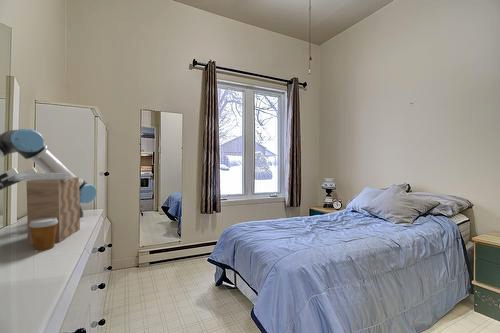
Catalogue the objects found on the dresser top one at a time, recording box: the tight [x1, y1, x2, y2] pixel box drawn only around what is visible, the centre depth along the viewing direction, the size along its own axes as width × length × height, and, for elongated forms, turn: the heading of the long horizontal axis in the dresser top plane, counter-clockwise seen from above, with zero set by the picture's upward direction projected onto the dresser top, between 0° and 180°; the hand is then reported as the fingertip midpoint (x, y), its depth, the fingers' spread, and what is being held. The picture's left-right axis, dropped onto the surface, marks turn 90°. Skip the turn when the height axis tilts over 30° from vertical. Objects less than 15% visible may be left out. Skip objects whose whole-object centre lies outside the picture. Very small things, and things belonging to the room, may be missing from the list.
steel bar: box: [8, 172, 69, 182], centre depth 113 cm, size 4×22×3 cm, turn 105°
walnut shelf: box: [26, 176, 81, 246], centre depth 120 cm, size 22×12×28 cm, turn 14°
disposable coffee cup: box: [29, 218, 58, 252], centre depth 104 cm, size 10×10×12 cm
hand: (26, 170), depth 112 cm, fingers open, 13 cm apart
